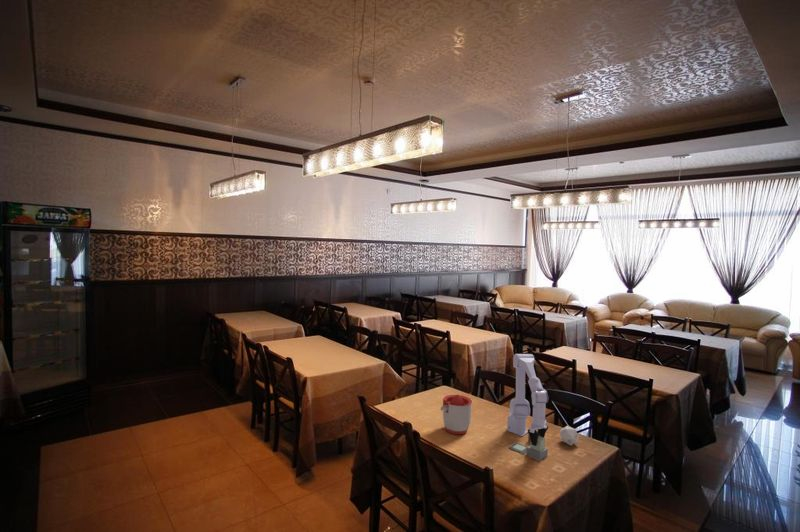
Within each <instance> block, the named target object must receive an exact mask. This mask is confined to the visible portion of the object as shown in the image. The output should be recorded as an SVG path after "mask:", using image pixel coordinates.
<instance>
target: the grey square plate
mask: <svg viewBox="0 0 800 532" xmlns="http://www.w3.org/2000/svg"><path fill="white" fill-rule="evenodd" d="M527 447H528V446H526V445H524V444H522V443H519V442H516V441H515V442H514V443H512V444H511V445H510V446H509V447H508V449H509V450H511V451H514V452H517V453H519V454H521V455H525V454H527Z"/></svg>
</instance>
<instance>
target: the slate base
mask: <svg viewBox="0 0 800 532" xmlns="http://www.w3.org/2000/svg"><path fill="white" fill-rule="evenodd" d="M530 446H531V444H530V445H529V446H527V452H526V455H527V456H528V457H530V458H532V459H535V460H537V461H539V462H540V461H542V460H544V459H546V458H547V457H548V452H549V451H548V448H547V447H545V449H543V450H542V451H541V452H539V451H537V450H534V449H532V448H530Z"/></svg>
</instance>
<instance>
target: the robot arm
mask: <svg viewBox="0 0 800 532" xmlns="http://www.w3.org/2000/svg"><path fill="white" fill-rule="evenodd" d="M535 362H536V361H535V356H534V355H533V354H532V353H515V354H514V355H513V357H512V364H513V366H512V367H513V368H515V397H514V398H513V399H511V400H510V402H509V404H510V405H509V414H508V415H507V422H506V423H507V426H506V427H507V428H506V431H507V432H510V433H512V434H515V435H517V436H521V437H523V436H525V435H526V434H528V433H529V435H530V439H531V442H530V445H531V444H532V445H534V446H536V445H537V441H538V437H539V436H541V437H543V438H545V437H546V436H545V435H546V432H547V431H548V429H549V426H548V425H547V420H546V406H547V405H546V404H547V403H549V402H548V401H549V395H548V391H547V390H546V389H545V388H544V387H543V385H542V382H541V380H540V378H539V377H537V375H536V371H535V367H534V366H535ZM526 375H527V377H528V382H527V383H528V386H529V388H530V391H531V404H532V419H531V420H532V421H531V425H530V427H529V428H528V429H527V418H528V417H529V416H530V415H531V407H530V406H531V405H530V402H529V401H528V400H527V399H526ZM537 431H538V432H537Z"/></svg>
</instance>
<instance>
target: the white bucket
mask: <svg viewBox="0 0 800 532" xmlns="http://www.w3.org/2000/svg"><path fill="white" fill-rule="evenodd" d="M472 403H473V401H472V399H471V398H470V397H468V396H465V395H462V394H449V395H446V396H444V397H443V398H442V406H441V407H440V411H441V412H442V419H443V424H444V429H445V430H446V431H447V433H449V434H452V435H464V434H466V433H467V432H468V430H469V428H470V424H471V419H472Z"/></svg>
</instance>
